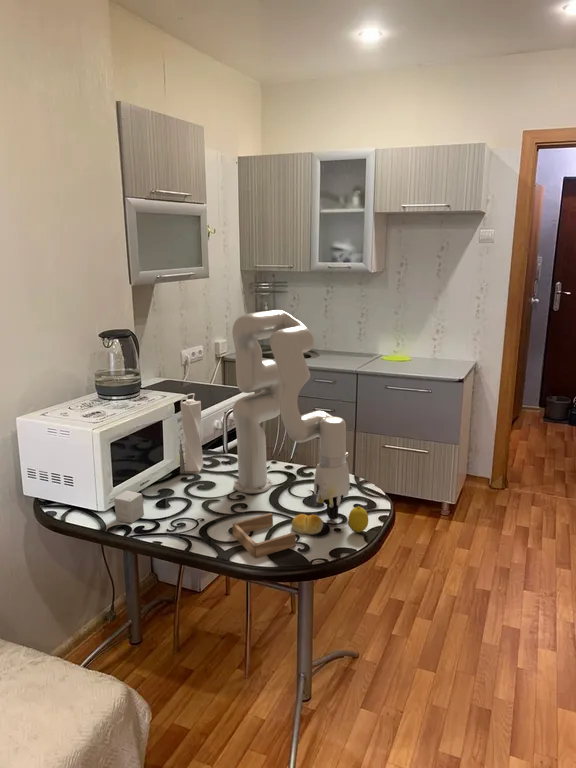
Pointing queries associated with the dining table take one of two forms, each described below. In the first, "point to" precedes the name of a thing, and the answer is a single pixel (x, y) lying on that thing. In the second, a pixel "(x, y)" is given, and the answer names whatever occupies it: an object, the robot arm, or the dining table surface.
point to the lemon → (358, 519)
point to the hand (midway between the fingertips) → (332, 516)
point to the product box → (129, 506)
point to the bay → (265, 546)
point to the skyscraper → (191, 436)
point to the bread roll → (307, 524)
